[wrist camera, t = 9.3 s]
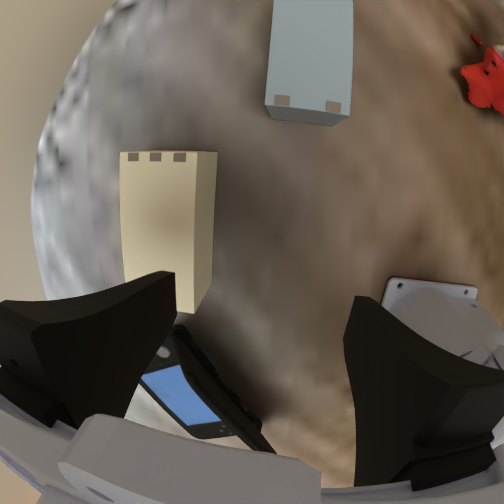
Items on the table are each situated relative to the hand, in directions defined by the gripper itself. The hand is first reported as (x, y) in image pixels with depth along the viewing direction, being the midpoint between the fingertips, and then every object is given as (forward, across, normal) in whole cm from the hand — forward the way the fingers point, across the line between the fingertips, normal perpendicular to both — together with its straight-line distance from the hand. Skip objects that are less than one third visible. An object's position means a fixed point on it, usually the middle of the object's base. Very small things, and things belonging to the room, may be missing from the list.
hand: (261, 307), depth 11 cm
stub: (+10, -1, -12) cm, 16 cm away
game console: (+10, +5, +16) cm, 20 cm away
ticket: (+10, +7, 0) cm, 12 cm away
